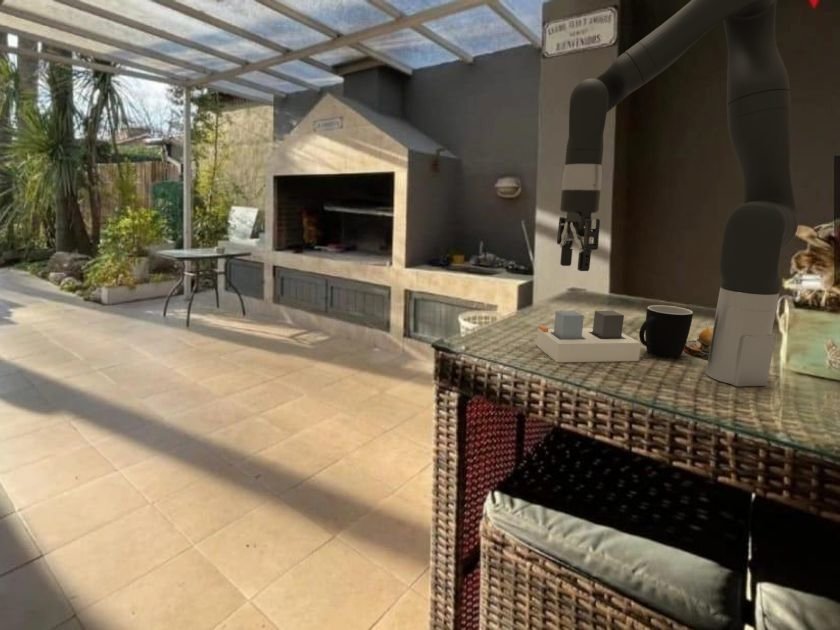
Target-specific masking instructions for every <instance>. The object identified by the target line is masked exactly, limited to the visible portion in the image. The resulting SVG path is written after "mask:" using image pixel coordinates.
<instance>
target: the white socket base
mask: <svg viewBox="0 0 840 630" xmlns="http://www.w3.org/2000/svg"><path fill="white" fill-rule="evenodd" d="M593 314H594V316H593V324H592V325H593V326H592V327H589V328H587V327H583V329H582V339H575V340H560V339H558V338H557V337H555V336H554V328H548V327H546V326H545V325H544V324H543V325H542V324H541V325H538V328H537V334H536V336H537V337H536V347H538V348H539V349H540V350H541V351H542V352H543V353H545V354H546V355H547V356H548V357H550V358H551V359H552V360H553V361H554V362H556V363H592V362H593V363H598V362H604V363H606V362H639V361H640V353H641V346H642V343H641V341H639V340H636V339H635V338H632V337H630V336H629V335H627V334H625V333H623V325H624V320H625V319H624V318H625V315H624V314H622V313H620V312H617V311H615V310H594V313H593Z"/></svg>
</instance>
